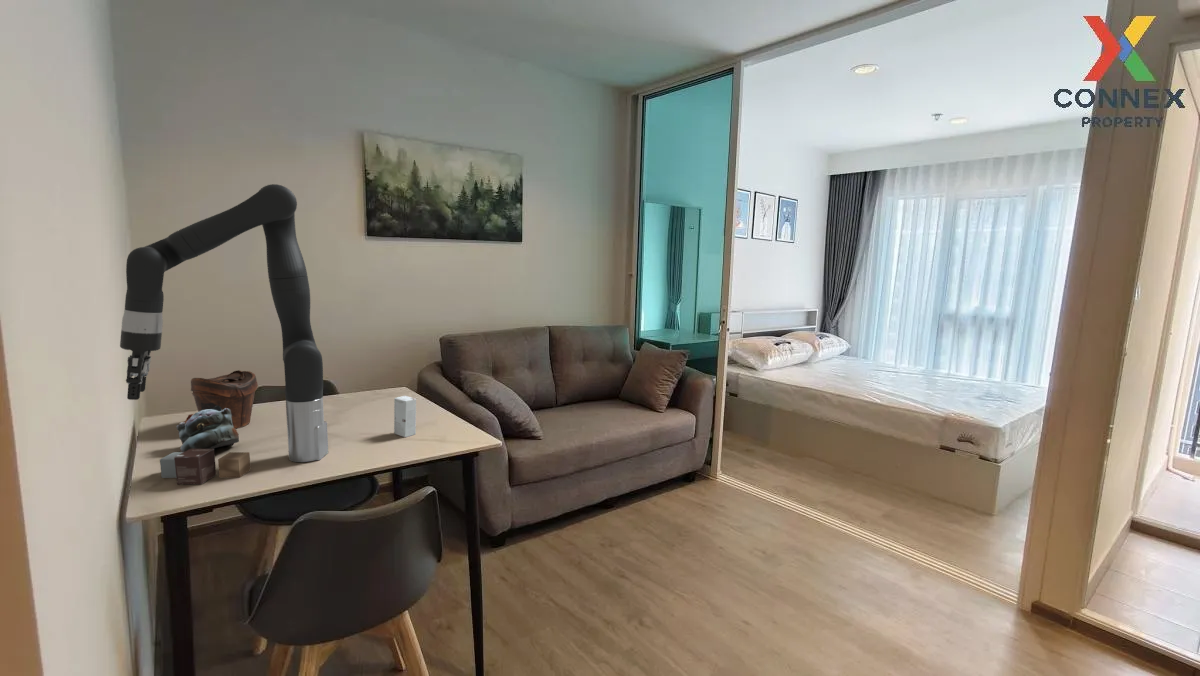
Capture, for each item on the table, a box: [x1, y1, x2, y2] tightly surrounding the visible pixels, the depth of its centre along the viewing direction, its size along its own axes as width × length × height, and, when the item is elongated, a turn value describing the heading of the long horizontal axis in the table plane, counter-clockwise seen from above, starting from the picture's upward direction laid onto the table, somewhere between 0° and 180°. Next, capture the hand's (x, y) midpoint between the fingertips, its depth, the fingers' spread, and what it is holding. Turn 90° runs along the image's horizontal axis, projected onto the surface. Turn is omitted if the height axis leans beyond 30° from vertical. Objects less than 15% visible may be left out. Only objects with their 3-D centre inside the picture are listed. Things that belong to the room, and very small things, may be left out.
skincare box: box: [393, 395, 417, 438], centre depth 175 cm, size 6×4×12 cm
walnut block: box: [217, 451, 252, 479], centre depth 141 cm, size 5×5×5 cm
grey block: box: [159, 451, 183, 479], centre depth 140 cm, size 5×5×5 cm
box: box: [174, 448, 217, 485], centre depth 136 cm, size 6×6×7 cm
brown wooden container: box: [190, 369, 259, 429], centre depth 178 cm, size 18×20×18 cm
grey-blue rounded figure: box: [176, 405, 240, 452], centre depth 157 cm, size 15×12×14 cm
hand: (136, 395), depth 131 cm, fingers open, 8 cm apart
